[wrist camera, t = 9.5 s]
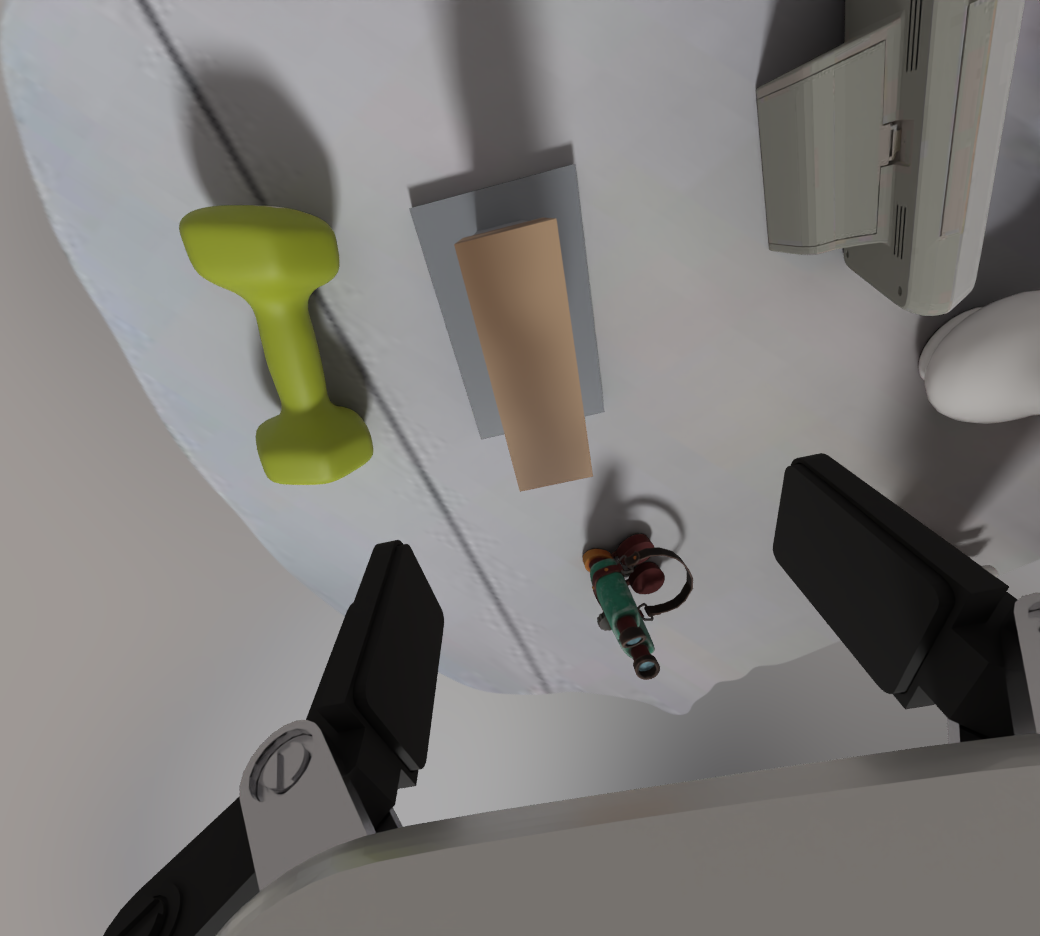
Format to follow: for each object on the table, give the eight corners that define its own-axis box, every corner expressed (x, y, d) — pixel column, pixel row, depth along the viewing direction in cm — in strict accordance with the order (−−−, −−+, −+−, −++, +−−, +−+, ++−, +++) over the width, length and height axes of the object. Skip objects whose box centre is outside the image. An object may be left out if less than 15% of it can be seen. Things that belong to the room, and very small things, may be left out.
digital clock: (868, 272, 28) (1042, 299, 19) (737, 302, 29) (848, 342, 20) (950, -87, 20) (1335, -340, 11) (762, -33, 20) (976, -231, 11)
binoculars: (736, 652, 35) (630, 695, 36) (677, 567, 44) (594, 603, 45) (720, 590, 31) (599, 641, 32) (658, 509, 40) (566, 550, 41)
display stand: (572, 165, 24) (597, 150, 18) (601, 406, 33) (625, 449, 27) (412, 208, 25) (386, 207, 19) (481, 433, 33) (479, 481, 27)
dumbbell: (216, 202, 24) (123, 198, 18) (352, 210, 25) (306, 209, 19) (286, 442, 33) (239, 494, 27) (386, 444, 34) (362, 495, 27)
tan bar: (543, 217, 19) (556, 218, 15) (576, 433, 26) (592, 476, 22) (462, 237, 20) (454, 244, 15) (515, 446, 26) (520, 491, 22)
